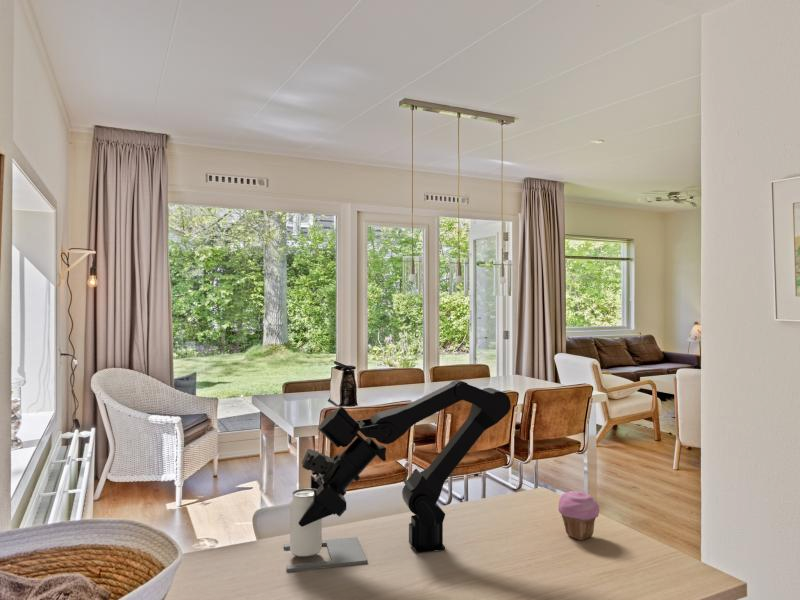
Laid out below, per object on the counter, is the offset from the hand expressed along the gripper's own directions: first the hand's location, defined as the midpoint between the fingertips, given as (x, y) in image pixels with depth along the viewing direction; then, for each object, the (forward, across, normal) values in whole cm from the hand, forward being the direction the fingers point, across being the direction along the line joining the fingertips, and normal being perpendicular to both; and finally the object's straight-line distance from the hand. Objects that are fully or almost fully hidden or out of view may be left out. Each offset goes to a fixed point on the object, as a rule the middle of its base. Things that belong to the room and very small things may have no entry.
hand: (299, 519), depth 116 cm
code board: (+2, 0, +9) cm, 9 cm away
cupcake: (-38, +2, +50) cm, 63 cm away
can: (+4, 0, +6) cm, 7 cm away
